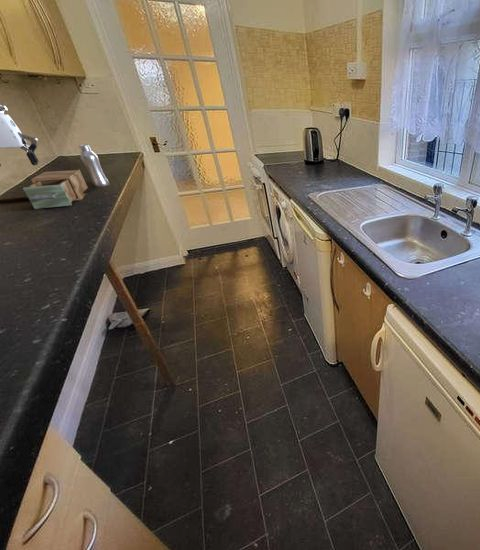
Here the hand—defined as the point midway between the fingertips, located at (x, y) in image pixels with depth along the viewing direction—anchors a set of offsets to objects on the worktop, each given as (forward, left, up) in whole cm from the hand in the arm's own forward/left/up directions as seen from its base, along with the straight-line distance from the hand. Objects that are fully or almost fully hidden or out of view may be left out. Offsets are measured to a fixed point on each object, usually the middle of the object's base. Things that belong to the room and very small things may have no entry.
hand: (17, 165), depth 103 cm
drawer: (0, +14, -18) cm, 23 cm away
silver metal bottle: (+11, +39, -19) cm, 45 cm away
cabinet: (0, +28, -19) cm, 34 cm away
